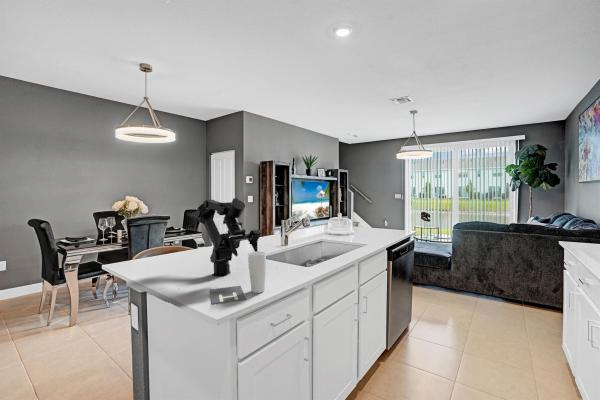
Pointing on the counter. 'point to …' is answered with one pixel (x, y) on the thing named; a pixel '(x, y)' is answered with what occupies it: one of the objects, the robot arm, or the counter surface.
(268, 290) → the counter surface
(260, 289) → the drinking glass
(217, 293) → the board
